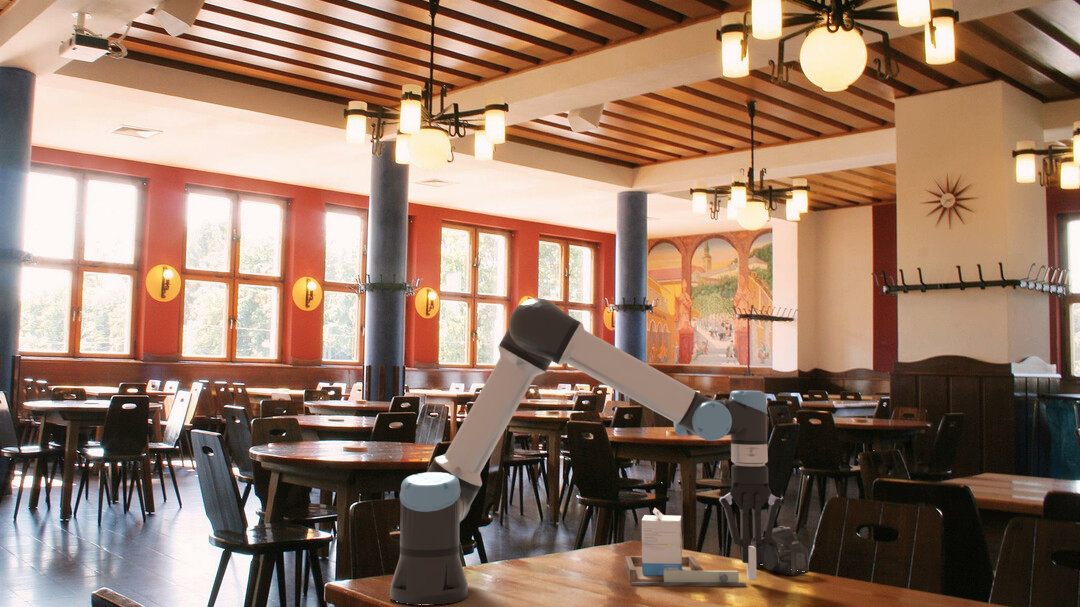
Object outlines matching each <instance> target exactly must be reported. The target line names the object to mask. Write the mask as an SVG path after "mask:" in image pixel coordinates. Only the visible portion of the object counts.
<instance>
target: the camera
mask: <svg viewBox="0 0 1080 607" xmlns="http://www.w3.org/2000/svg"><path fill="white" fill-rule="evenodd" d="M762 535H763V532H761V538H762ZM750 546H754V544H753V538H751V541H750ZM808 552H809V551H808V548H807V547H806V546H805V545H803V544H802V542H801V541H799V534H798V533H796V532H793V531H792V529H791V527H790V526H787V527H786V526H784V525H781V526H780V525H779V526H777V527H773V531H772V535H771V540H770V543H769V544H768V545H764V546H762V547H761V562H760V563H756V570H767V569H768V571H771V572H775V573H778V574H782V575H785V576H797V575H799V576H800V575H804V574H808V573H809V572H810V564H809V562H810V561H809V553H808ZM760 564H763V565H760ZM791 569H792V570H791ZM797 570H798V571H797ZM802 571H805V572H802Z"/></svg>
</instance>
